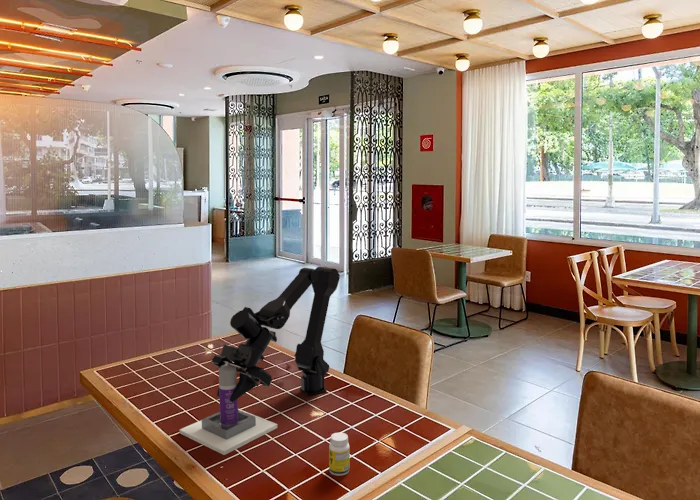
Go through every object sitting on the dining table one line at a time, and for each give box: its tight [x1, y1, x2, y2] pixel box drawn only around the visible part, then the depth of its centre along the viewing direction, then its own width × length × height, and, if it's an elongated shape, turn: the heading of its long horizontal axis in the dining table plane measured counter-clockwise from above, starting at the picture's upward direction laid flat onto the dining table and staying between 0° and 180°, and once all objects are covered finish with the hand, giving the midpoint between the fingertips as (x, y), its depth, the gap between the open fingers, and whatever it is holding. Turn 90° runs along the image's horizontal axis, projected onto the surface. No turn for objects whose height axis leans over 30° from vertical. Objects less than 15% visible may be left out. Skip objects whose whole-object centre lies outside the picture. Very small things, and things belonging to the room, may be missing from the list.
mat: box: [179, 408, 278, 456], centre depth 142 cm, size 18×18×1 cm
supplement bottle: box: [328, 432, 351, 477], centre depth 123 cm, size 5×5×8 cm
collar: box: [201, 409, 256, 440], centre depth 142 cm, size 10×10×2 cm
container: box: [218, 366, 239, 427], centre depth 141 cm, size 5×5×15 cm
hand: (224, 398), depth 140 cm, fingers closed on container, 5 cm apart
